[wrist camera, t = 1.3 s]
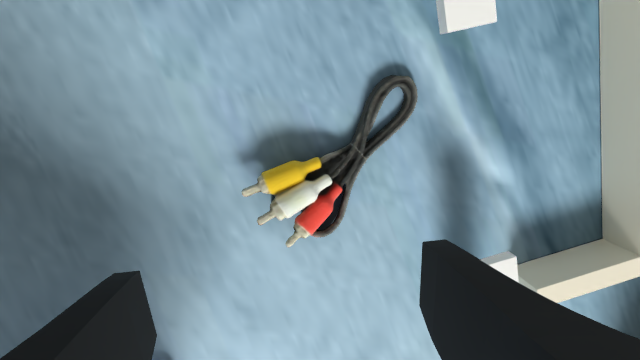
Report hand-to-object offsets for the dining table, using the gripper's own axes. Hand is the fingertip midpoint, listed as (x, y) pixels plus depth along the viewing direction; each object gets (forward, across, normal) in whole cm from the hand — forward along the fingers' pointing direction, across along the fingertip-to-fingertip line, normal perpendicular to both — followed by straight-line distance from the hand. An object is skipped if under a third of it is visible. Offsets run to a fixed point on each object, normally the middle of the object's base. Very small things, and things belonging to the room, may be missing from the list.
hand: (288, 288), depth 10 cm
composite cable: (+11, -3, 0) cm, 11 cm away
